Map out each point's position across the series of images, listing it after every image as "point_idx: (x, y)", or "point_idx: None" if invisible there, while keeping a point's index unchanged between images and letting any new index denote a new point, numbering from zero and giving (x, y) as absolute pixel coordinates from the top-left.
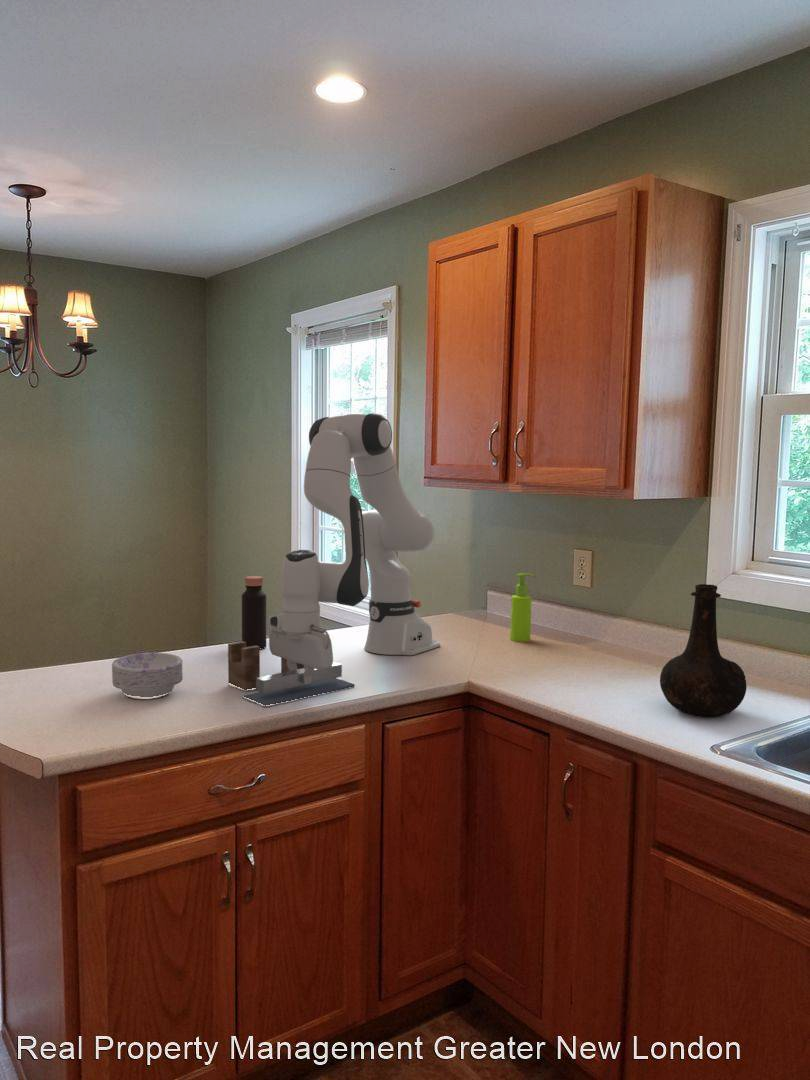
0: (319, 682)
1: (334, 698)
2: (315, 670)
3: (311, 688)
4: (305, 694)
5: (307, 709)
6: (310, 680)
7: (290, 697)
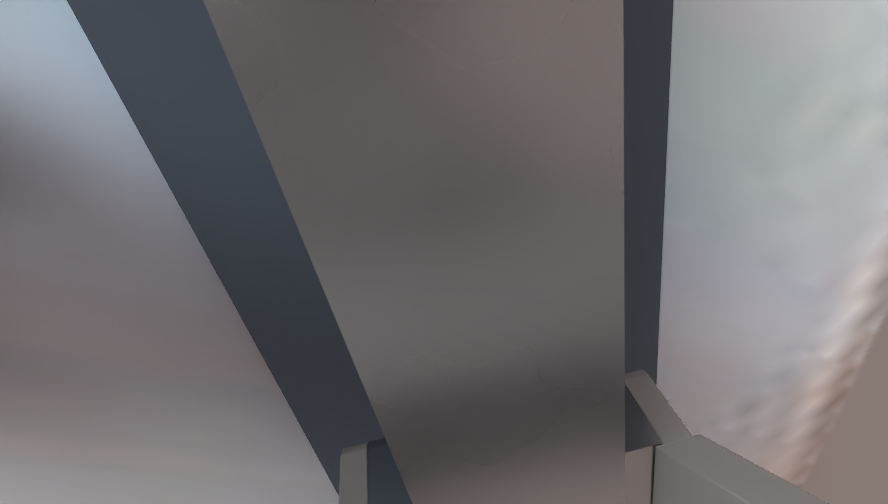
0: None
1: (833, 135)
2: (616, 381)
3: None
4: (629, 357)
5: (844, 395)
6: (655, 391)
7: None
